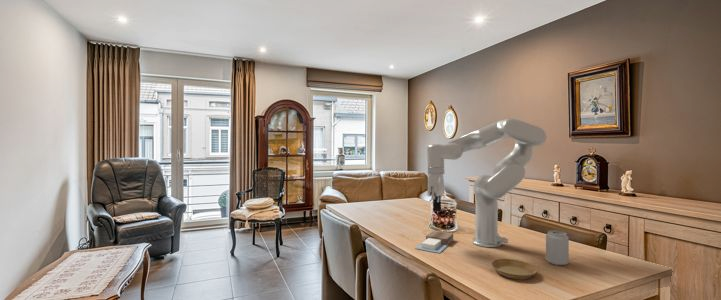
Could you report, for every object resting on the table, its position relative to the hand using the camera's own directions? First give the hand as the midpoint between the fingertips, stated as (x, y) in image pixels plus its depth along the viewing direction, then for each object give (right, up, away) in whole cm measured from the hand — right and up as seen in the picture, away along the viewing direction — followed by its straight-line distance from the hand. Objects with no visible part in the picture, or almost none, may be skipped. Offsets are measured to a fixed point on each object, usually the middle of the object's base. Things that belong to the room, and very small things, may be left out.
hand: (437, 210), depth 146 cm
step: (+2, -16, +4) cm, 16 cm away
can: (+41, -16, -24) cm, 50 cm away
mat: (-4, -16, -5) cm, 17 cm away
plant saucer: (+19, -17, -33) cm, 41 cm away
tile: (-3, -15, -3) cm, 16 cm away
